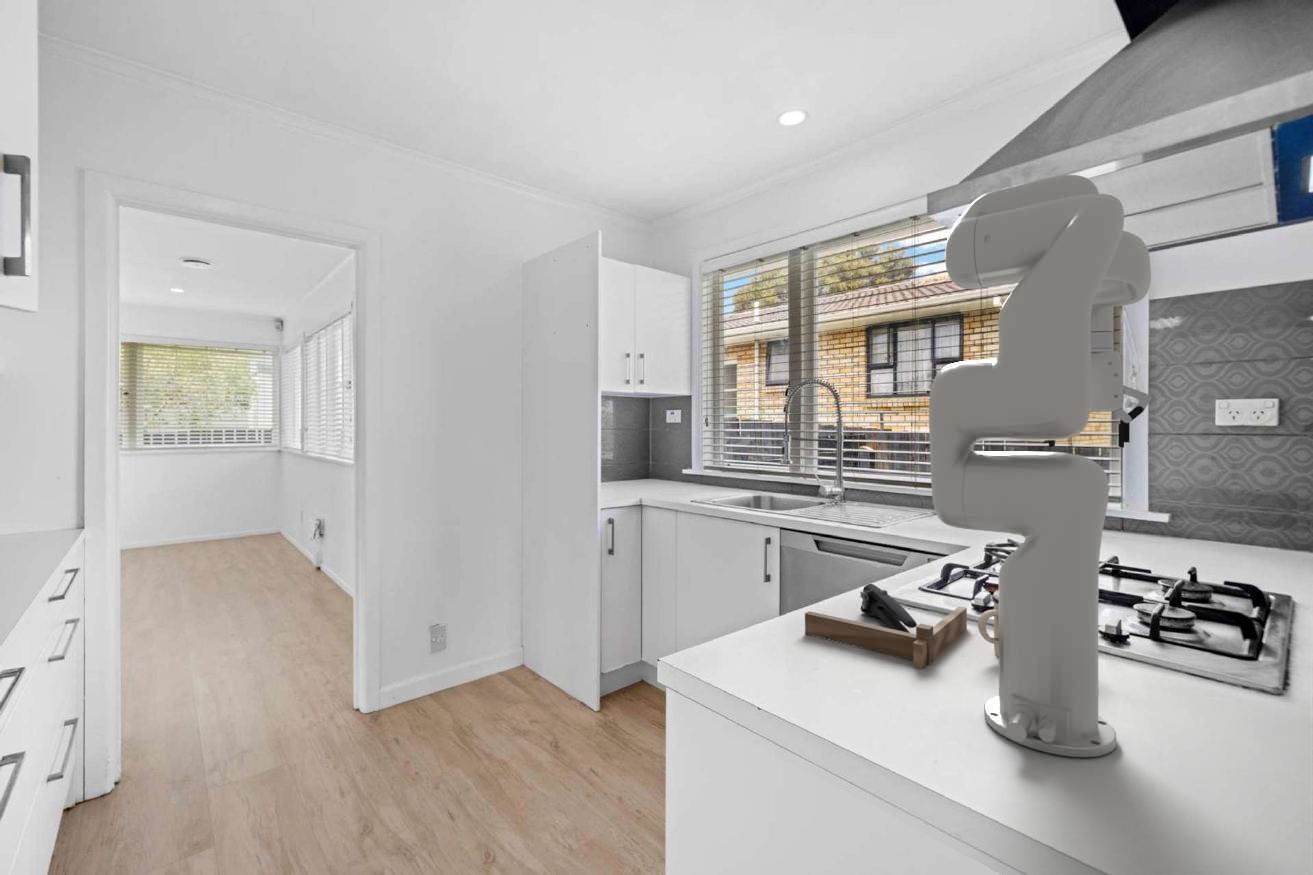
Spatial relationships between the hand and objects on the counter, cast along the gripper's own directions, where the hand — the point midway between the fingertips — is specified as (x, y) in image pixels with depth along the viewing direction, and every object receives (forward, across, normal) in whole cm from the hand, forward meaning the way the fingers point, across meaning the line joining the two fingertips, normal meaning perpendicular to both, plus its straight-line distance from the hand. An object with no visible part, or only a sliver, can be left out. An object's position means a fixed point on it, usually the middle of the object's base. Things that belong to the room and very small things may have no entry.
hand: (1085, 446), depth 102 cm
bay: (+30, -27, -24) cm, 47 cm away
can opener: (+31, -27, -19) cm, 45 cm away
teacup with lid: (+31, -7, -23) cm, 39 cm away
